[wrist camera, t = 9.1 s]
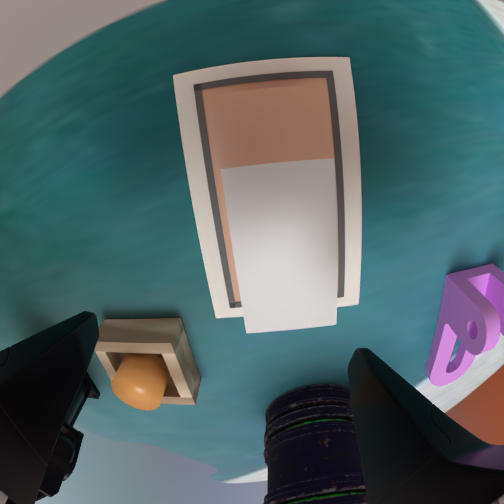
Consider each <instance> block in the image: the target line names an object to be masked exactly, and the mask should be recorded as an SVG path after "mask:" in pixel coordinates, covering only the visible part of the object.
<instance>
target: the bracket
mask: <svg viewBox="0 0 504 504" xmlns="http://www.w3.org/2000/svg"><path fill="white" fill-rule="evenodd" d="M500 332H501V333H502V334H503V335H504V272H503V271H501V270H500V269H499V268H498V267H496V266H495V265H494V264H493V263H492V264H488V265H484V266H480V267H476V268H472V269H468V270H463V271H459V272H455V273H450V274H446V276H445V283H444V289H443V295H442V301H441V306H440V311H439V316H438V321H437V325H436V330H435V334H434V338H433V342H432V346H431V350H430V354H429V357H428V361H427V364H426V373H427V375H428V377H429V379H430V381H431V383H432V384H433V385H436V386H442V385H446V384H449V383H451V382H453V381H454V380H456V379H458V378H459V377H460V376H461V375H463V374H464V373H465V372H466V371H467V369H468V368H469V367H470V366H471V364H472V362H473V360H474V358H475V356H476V355H478V354H480V353H483V352H485V351H488V350H490V349H492V348H494V347H495V345H496V344H497V342H498V340H499V336H500ZM457 337H458V339H459V340H460V344H459V348H458V351H457V354H456V356H455V358H454V360H453V361H452V362H450V363H449V360H450V357H451V354H452V351H453V347H454V344H455V341H456V338H457ZM448 363H449V364H448Z"/></svg>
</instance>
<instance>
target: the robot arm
mask: <svg viewBox="0 0 504 504" xmlns="http://www.w3.org/2000/svg"><path fill="white" fill-rule="evenodd" d="M98 339H99V327H98V322H97V317H96V315H95V314H94V313H92V312H88V311H84V312H82V313H79V314H77V315H75V316H73V317H71V318H69V319H67V320H65V321H62V322H60V323H58V324H56V325H54V326H52V327H50V328H48V329H46V330H43V331H41V332H39V333H37V334H35V335H33V336H31V337H29V338H27V339H25V340H23V341H21V342H18V343H16V344H14V345H12V346H11V347H8V348H6V349H4V350H2V351H0V504H35V501H38V500H40V499H42V498H44V497H46V496H49V497H52V496H53V495H55V494H57V493H58V492H59V489H60V486H61V483H62V481H64V480H66V479H67V478H68V477H69V476H70V475H71V473H72V471H73V470H74V467H75V465H76V462H77V458H78V454H79V450H80V447H81V443H82V439H83V436H84V435H83V433H81V432H80V431H77V430H76V429H74V428H73V425H74V423H75V421H76V419H77V417H78V415H79V413H80V411H81V409H82V407H83V405H84V403H85V401H86V399H87V398H88V397H89V398H94V399H98V398H99V396H100V394H99V393H98V391H97V390H96V388H95V386H94V385H93V383H92V382H91V380H90V378H89V377H88V375H87V373H86V372H87V369H88V366H89V363H90V361H91V358H92V355H93V352H94V349H95V347H96V344H97V341H98ZM348 378H349V388H350V400H351V408H352V414H353V419H354V424H355V429H356V434H357V440H358V445H359V451H360V456H361V462H362V468H363V474H364V481H365V487H366V494H367V501H368V504H504V445H492V444H489V443H486V442H484V441H482V440H481V439H479V438H478V437H476V436H475V435H473V434H472V433H471V432H469V431H468V430H466V429H465V428H463V427H462V426H461V425H459V424H458V423H456V422H455V421H454V420H452V419H451V418H450V417H448V416H447V415H446V414H445V413H444V412H442V411H441V410H440V409H439V408H438V407H436V406H435V405H434V404H432V402H430V401H429V400H428V399H427V398H426V397H425V396H423V395H422V394H421V393H420V392H419V391H418V390H416V389H415V388H414V387H413V386H412V385H410V384H409V383H408V382H407V381H406V380H405V379H403V378H402V377H401V376H400V375H399V374H398V373H396V372H395V371H394V370H393V369H392V368H391V367H389V366H388V365H387V364H386V363H385V362H384V361H382V360H381V359H380V358H379V357H378V356H376V355H375V354H374V353H373V352H372V351H371V350H369V349H368V348H357V349H356V350H355V351H354V354H353V356H352V358H351V361H350V363H349V365H348Z"/></svg>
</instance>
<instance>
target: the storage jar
mask: <svg viewBox="0 0 504 504" xmlns="http://www.w3.org/2000/svg"><path fill="white" fill-rule="evenodd" d="M264 446H265V450H264V457H265V463H266V464H267V466H268V494H267V495H266V496H265V498H264V503H263V504H368V501H367V494H366V487H365V481H364V474H363V468H362V462H361V456H360V451H359V445H358V440H357V434H356V429H355V424H354V419H353V414H352V408H351V400H350V389H348V388H346V387H343V386H339V385H333V384H316V385H309V386H304V387H300V388H297V389H294V390H291V391H289V392H286V393H284V394H283V395H281V396H279V397H278V398H276V399H275V400H274V401H273V402H272V403H271V404H270V405H269V407H268V409H267V411H266V431H265V435H264Z"/></svg>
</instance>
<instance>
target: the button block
mask: <svg viewBox="0 0 504 504" xmlns="http://www.w3.org/2000/svg"><path fill="white" fill-rule="evenodd" d="M94 350H95V352H96V354H97V356H98V358H99V359H100V361H101V363H102V365H103V367H104V369H105V370H106V372H107V374H108V376H109V377H110V379H111V381H112V380H113V378H114V376H115V374H116V372H117V370H118V368H119V366H120V364H121V362H122V360H123V358H124V356H125V354H126V353H151V354H155V355H157V356H159V357H160V358H161V359H162V360H163V361H164V362H165V363H166V365H167V367H168V370H169V372H170V376H169V379H168V382H167V385H166V388H165V391H164V395H163V398H162V401H161V403H166V404H184V405H196V400H197V396H198V391H199V387H200V382H201V378H200V375H199V372H198V369H197V366H196V363H195V361H194V358H193V355H192V352H191V349H190V345H189V342H188V339H187V336H186V333H185V330H184V327H183V323H182V320H181V318H158V319H105V320H104V322H103V323H102V325H101V326H100V327H99V339H98V341H97V344H96V347H95V349H94Z"/></svg>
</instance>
